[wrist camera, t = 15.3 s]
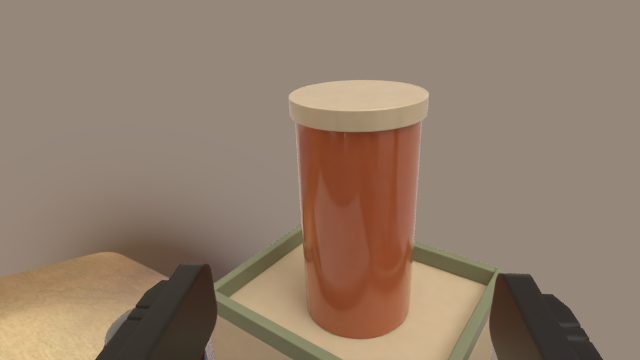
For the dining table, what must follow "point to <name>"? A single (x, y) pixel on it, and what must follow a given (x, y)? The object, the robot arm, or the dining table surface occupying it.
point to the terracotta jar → (358, 200)
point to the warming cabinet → (340, 352)
